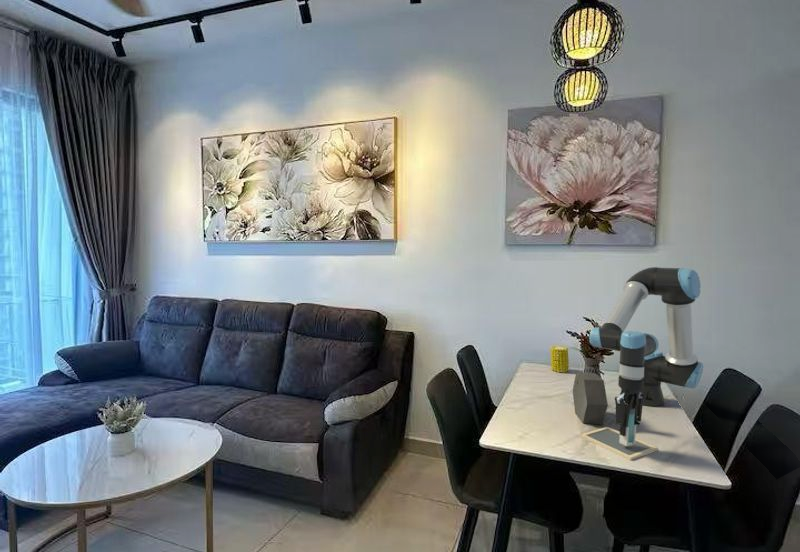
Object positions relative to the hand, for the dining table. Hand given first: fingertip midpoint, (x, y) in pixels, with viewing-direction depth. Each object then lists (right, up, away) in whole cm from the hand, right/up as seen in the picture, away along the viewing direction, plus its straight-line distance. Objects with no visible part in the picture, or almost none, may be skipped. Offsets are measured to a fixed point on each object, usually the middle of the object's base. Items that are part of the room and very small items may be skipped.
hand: (627, 442), depth 147 cm
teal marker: (0, -1, 0) cm, 1 cm away
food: (+12, +4, +94) cm, 95 cm away
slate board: (-1, -2, +4) cm, 5 cm away
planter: (-2, -1, +26) cm, 27 cm away
